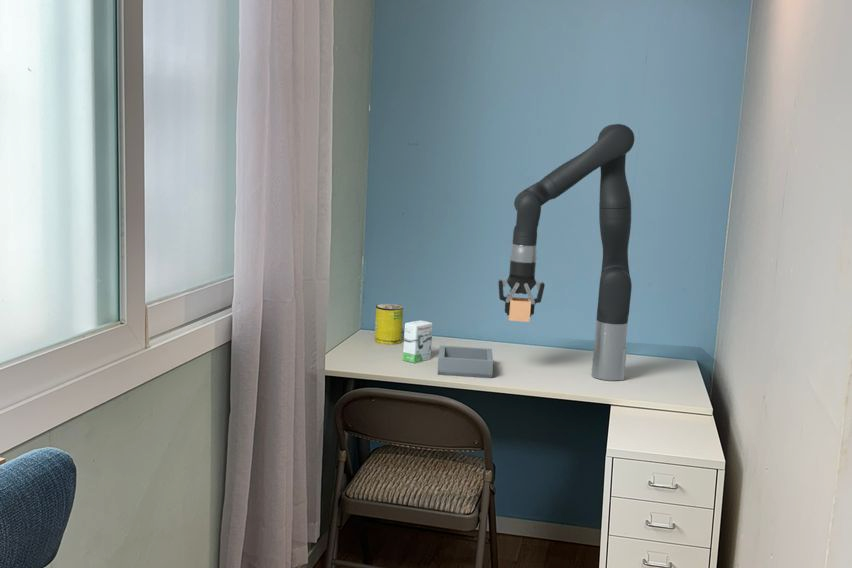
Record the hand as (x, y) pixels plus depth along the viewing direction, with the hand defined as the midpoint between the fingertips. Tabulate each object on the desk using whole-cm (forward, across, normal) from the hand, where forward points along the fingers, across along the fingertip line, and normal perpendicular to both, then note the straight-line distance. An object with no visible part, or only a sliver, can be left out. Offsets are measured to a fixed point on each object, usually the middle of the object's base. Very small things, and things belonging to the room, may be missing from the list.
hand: (518, 315), depth 267 cm
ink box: (+18, +30, -8) cm, 36 cm away
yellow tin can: (+18, +41, -30) cm, 54 cm away
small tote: (+1, 0, 0) cm, 1 cm away
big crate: (+18, +15, 0) cm, 23 cm away
